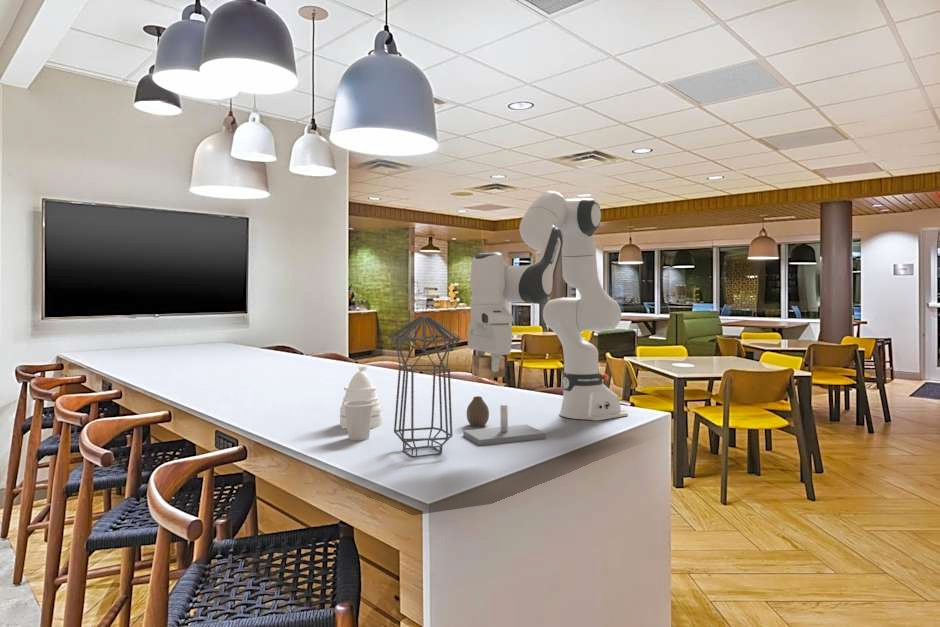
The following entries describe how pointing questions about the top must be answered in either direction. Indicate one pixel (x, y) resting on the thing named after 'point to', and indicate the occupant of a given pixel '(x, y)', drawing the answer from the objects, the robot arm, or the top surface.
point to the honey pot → (362, 397)
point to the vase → (477, 412)
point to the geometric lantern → (405, 367)
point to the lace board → (503, 432)
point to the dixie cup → (358, 418)
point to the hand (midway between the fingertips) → (488, 369)
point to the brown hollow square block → (486, 367)
